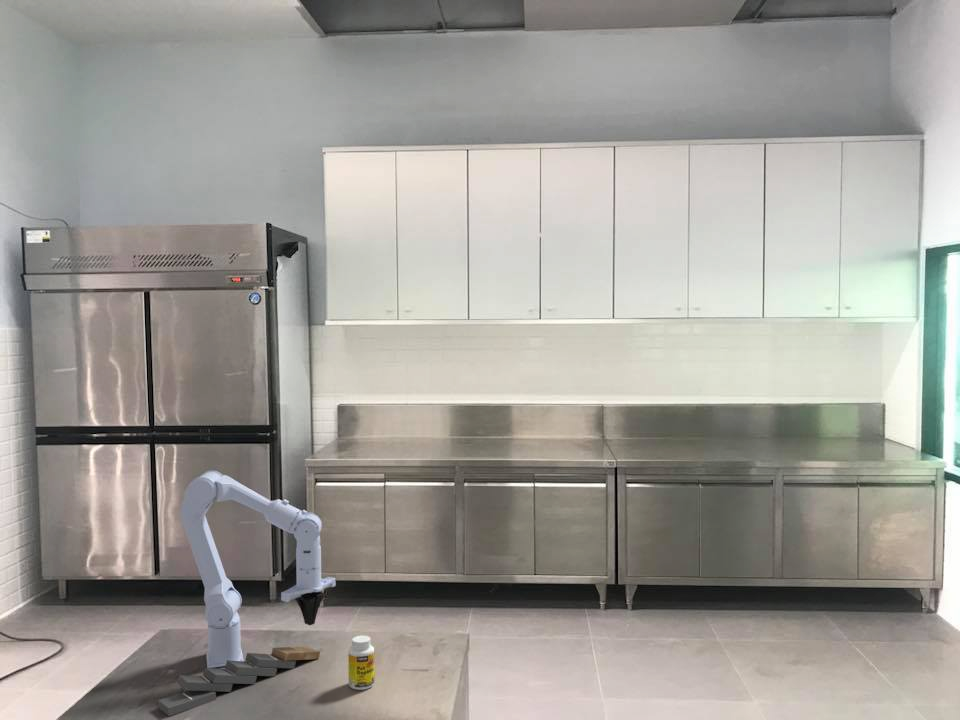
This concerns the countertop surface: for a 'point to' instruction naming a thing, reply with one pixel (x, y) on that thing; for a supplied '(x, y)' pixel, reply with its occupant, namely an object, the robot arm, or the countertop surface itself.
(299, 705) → the countertop surface
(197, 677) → the domino
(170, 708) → the domino
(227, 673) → the domino
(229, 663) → the domino
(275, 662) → the domino
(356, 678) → the supplement bottle
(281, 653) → the walnut domino
